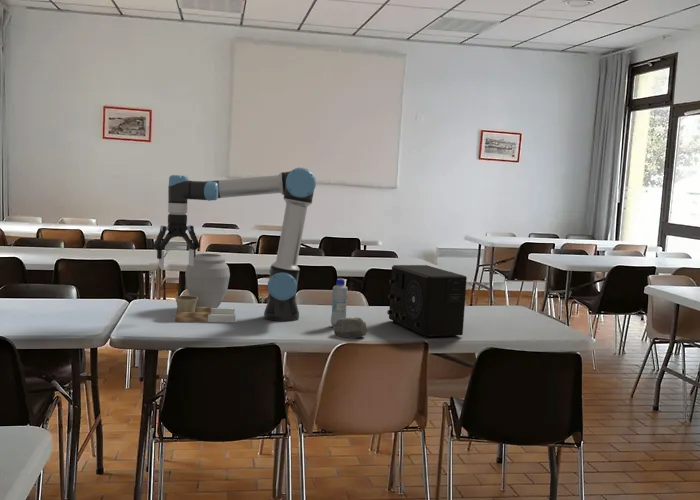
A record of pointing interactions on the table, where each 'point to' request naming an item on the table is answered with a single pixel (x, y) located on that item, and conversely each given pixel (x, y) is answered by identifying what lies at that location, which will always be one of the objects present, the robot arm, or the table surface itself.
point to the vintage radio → (427, 300)
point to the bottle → (339, 301)
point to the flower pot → (186, 303)
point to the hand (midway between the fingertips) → (176, 266)
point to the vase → (208, 279)
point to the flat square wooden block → (194, 315)
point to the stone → (350, 327)
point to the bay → (222, 315)
